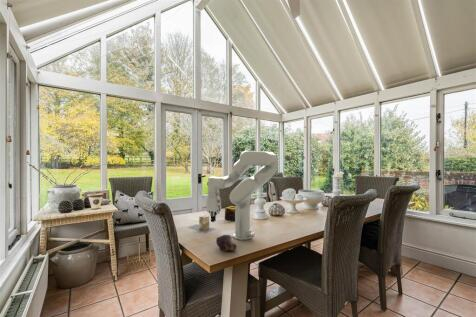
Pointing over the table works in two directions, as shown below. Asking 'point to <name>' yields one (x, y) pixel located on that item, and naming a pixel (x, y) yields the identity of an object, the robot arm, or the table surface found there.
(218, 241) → the rock
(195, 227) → the mat
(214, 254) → the table surface
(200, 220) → the maple block
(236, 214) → the robot arm
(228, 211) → the candle
